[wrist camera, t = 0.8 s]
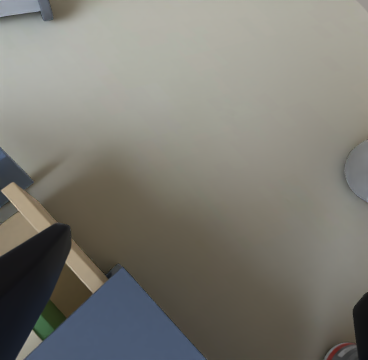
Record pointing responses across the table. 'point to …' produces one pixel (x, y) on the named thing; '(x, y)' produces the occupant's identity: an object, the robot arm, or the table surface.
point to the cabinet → (117, 328)
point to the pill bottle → (343, 352)
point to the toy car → (26, 8)
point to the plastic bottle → (358, 170)
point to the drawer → (36, 222)
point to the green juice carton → (42, 328)
